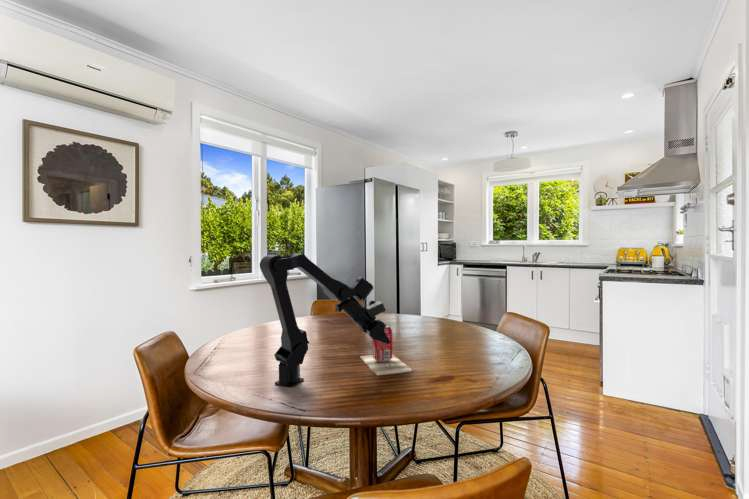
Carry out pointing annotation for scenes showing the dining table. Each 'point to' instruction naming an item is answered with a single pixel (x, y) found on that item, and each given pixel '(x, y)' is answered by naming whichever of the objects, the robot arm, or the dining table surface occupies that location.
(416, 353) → the dining table surface
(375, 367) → the board
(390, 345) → the soda can
